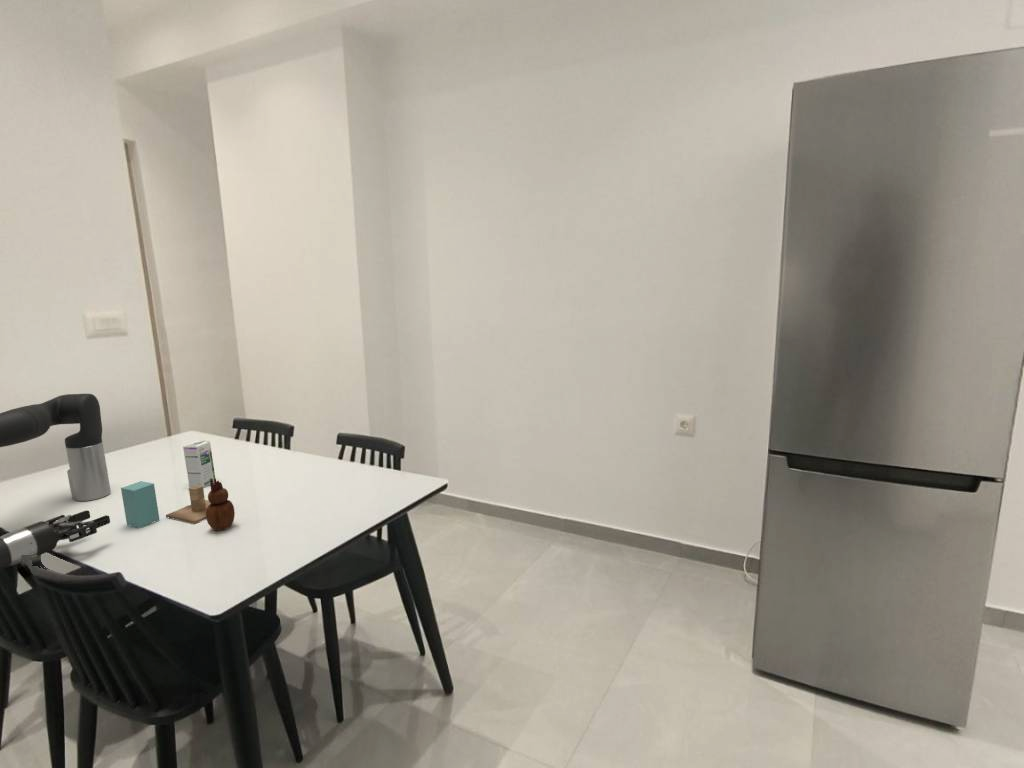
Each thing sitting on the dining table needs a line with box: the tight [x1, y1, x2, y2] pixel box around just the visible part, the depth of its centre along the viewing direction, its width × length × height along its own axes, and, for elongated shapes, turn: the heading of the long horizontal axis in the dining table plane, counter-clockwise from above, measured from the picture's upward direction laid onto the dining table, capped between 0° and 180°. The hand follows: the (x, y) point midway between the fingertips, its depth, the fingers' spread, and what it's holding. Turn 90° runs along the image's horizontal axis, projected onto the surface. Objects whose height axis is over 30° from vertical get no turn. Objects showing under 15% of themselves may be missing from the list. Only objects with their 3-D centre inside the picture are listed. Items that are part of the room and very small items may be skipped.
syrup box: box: [182, 440, 216, 489], centre depth 185 cm, size 6×6×14 cm
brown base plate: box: [165, 485, 211, 525], centre depth 163 cm, size 12×12×8 cm
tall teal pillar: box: [120, 480, 160, 529], centre depth 157 cm, size 6×6×11 cm
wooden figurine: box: [205, 477, 235, 532], centre depth 152 cm, size 7×6×15 cm
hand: (98, 516), depth 147 cm, fingers open, 8 cm apart
